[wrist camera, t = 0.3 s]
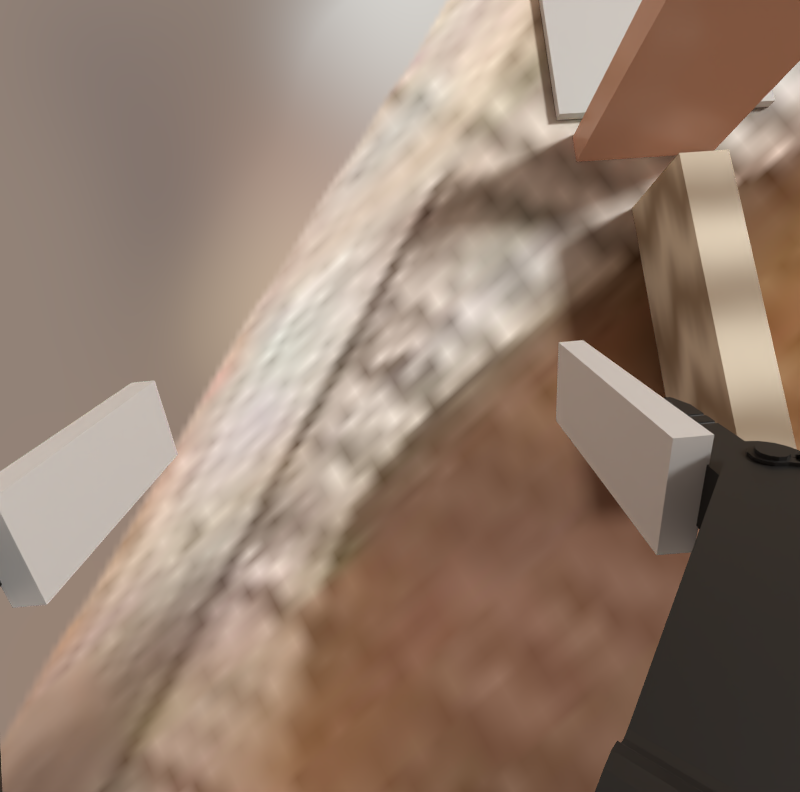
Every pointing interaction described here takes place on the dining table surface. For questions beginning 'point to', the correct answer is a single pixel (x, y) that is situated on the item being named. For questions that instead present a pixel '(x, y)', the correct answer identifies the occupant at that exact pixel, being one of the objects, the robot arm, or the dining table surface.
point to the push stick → (709, 299)
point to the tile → (688, 76)
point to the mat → (586, 48)
